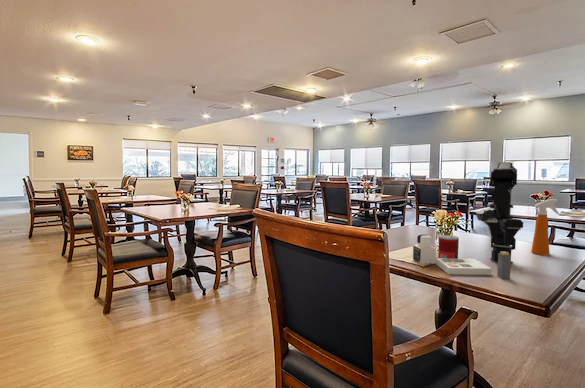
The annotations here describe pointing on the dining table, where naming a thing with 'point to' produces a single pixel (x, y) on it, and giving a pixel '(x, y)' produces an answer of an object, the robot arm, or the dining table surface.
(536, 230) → the spray bottle
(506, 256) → the plug
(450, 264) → the socket board
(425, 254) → the medicine bottle
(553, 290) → the dining table surface
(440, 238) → the canned food
